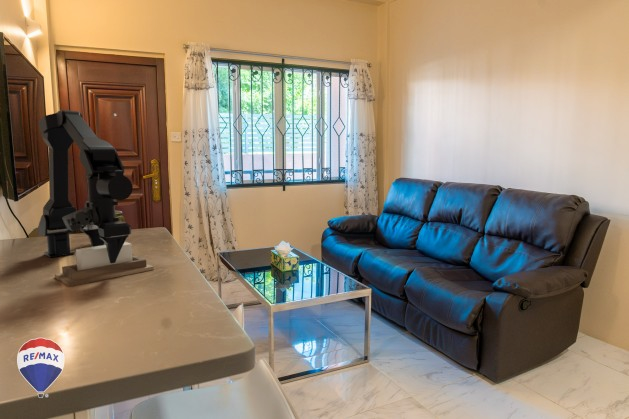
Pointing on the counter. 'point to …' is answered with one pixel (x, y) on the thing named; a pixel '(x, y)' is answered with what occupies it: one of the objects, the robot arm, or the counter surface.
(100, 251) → the white rectangular block
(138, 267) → the rack
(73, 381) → the counter surface
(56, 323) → the counter surface
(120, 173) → the robot arm
